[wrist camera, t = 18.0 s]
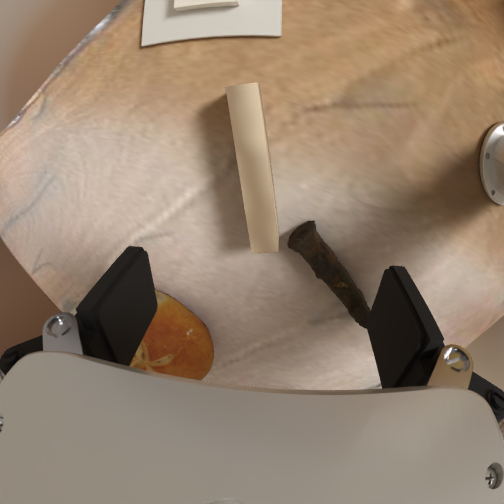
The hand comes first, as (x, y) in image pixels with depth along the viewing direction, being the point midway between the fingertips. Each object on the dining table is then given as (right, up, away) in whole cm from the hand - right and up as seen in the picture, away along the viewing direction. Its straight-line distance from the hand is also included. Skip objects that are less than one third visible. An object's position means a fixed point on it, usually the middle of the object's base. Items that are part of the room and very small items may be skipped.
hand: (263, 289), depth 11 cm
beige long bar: (0, +12, +21) cm, 24 cm away
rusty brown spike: (+12, -1, +27) cm, 29 cm away
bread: (-17, -11, +36) cm, 41 cm away
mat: (-5, +31, +10) cm, 33 cm away
